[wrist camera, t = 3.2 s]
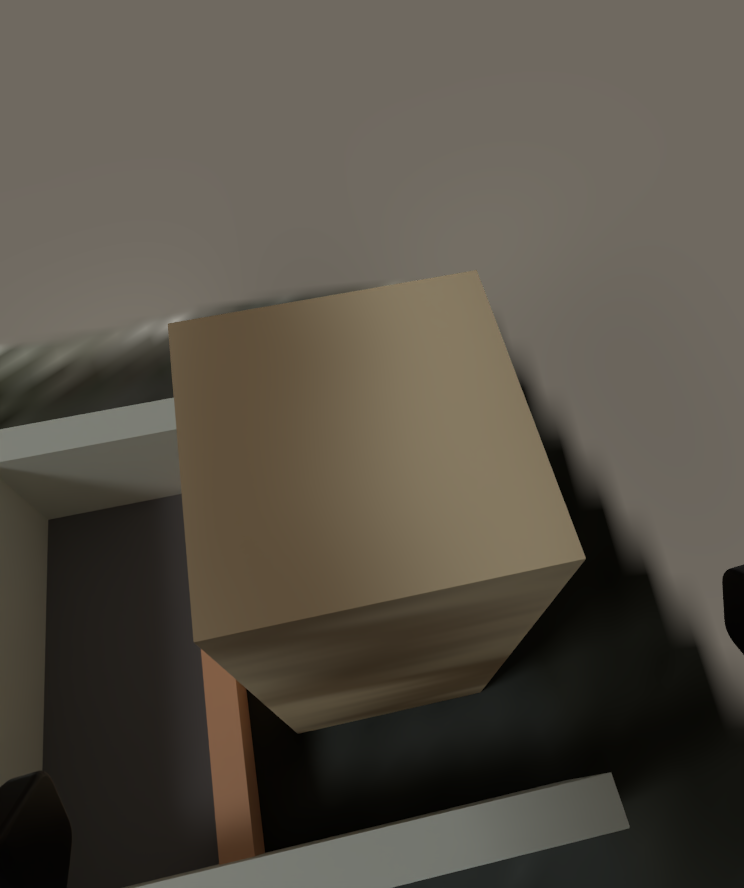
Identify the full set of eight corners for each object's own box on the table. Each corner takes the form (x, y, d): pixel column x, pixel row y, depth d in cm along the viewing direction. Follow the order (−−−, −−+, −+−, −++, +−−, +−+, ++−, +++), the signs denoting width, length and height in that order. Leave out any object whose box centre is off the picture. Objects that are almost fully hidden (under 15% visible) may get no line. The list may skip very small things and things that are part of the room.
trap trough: (451, 418, 22) (464, 344, 19) (578, 824, 17) (630, 827, 13) (20, 500, 21) (-52, 439, 18) (-1, 967, 16) (-114, 1013, 12)
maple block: (434, 523, 21) (476, 269, 11) (480, 692, 18) (586, 558, 9) (272, 557, 20) (167, 323, 11) (297, 733, 18) (194, 642, 8)
